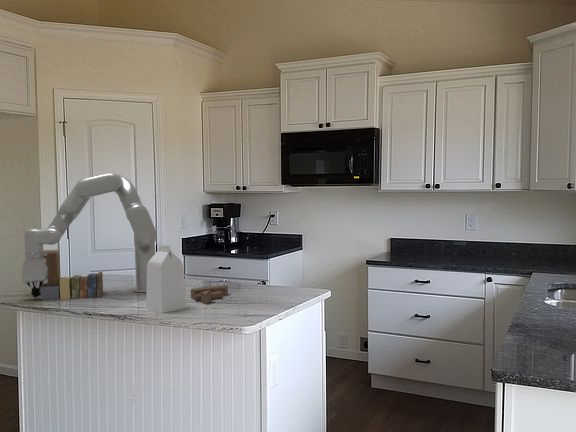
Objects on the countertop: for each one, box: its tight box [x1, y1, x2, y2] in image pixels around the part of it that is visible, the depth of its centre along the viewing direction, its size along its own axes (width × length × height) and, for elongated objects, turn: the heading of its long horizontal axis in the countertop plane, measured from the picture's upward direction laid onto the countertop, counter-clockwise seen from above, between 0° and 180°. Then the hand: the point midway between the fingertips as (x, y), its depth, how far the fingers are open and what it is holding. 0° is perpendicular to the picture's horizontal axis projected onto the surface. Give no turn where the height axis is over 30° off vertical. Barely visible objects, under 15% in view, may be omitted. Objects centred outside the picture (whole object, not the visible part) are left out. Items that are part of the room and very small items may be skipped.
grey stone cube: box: [40, 284, 61, 301], centre depth 247 cm, size 8×6×6 cm
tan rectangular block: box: [59, 276, 73, 300], centre depth 249 cm, size 4×6×9 cm, turn 11°
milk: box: [145, 243, 188, 314], centre depth 222 cm, size 12×12×26 cm
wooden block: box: [34, 249, 61, 295], centre depth 262 cm, size 10×10×20 cm
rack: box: [53, 271, 104, 300], centre depth 252 cm, size 22×12×10 cm, turn 102°
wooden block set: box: [190, 284, 229, 306], centre depth 239 cm, size 17×6×18 cm
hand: (35, 296), depth 246 cm, fingers closed
